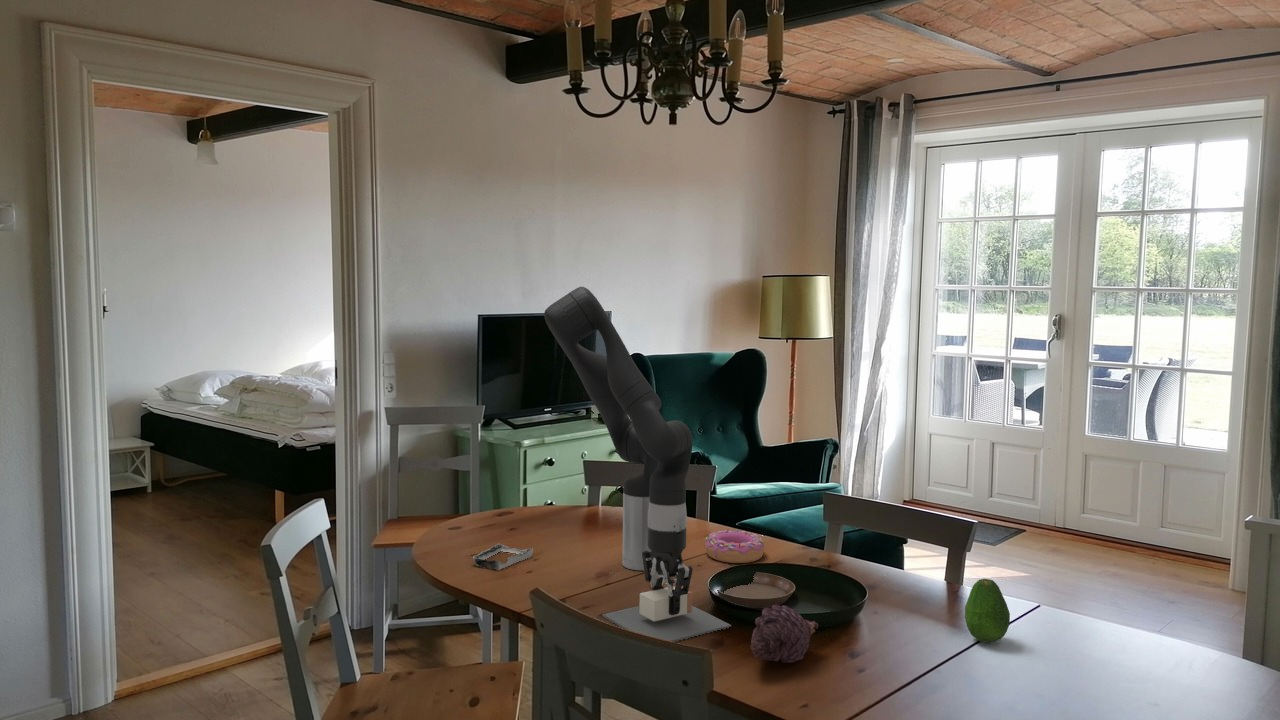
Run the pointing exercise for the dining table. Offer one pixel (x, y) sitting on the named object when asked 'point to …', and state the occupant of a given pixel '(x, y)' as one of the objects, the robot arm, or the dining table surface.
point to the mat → (667, 624)
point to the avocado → (986, 612)
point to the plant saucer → (760, 591)
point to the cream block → (662, 604)
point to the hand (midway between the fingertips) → (665, 609)
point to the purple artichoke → (781, 634)
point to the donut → (734, 546)
